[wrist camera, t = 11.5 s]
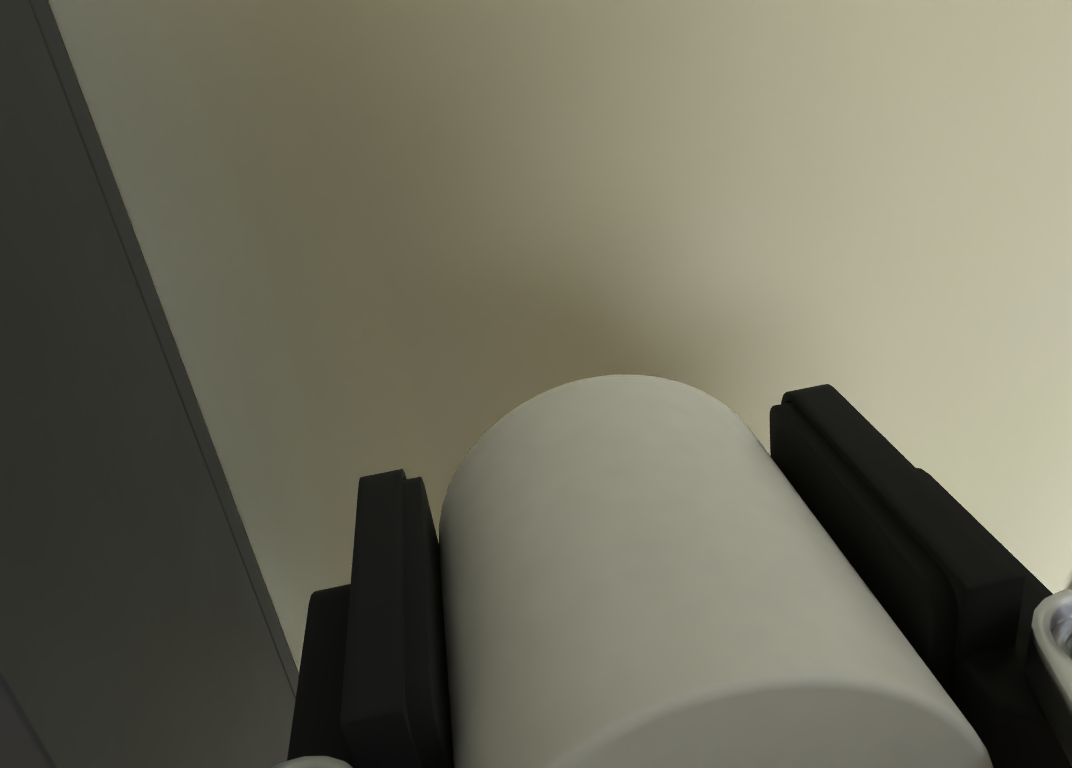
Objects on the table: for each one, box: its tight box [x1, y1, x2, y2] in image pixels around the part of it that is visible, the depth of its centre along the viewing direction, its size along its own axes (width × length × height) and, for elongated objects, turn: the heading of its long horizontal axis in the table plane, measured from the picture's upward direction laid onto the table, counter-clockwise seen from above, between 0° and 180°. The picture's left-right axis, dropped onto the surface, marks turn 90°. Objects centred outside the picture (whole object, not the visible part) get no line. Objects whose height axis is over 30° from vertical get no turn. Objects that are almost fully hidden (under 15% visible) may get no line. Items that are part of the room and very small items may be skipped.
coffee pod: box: [439, 374, 994, 768], centre depth 9 cm, size 4×4×5 cm
